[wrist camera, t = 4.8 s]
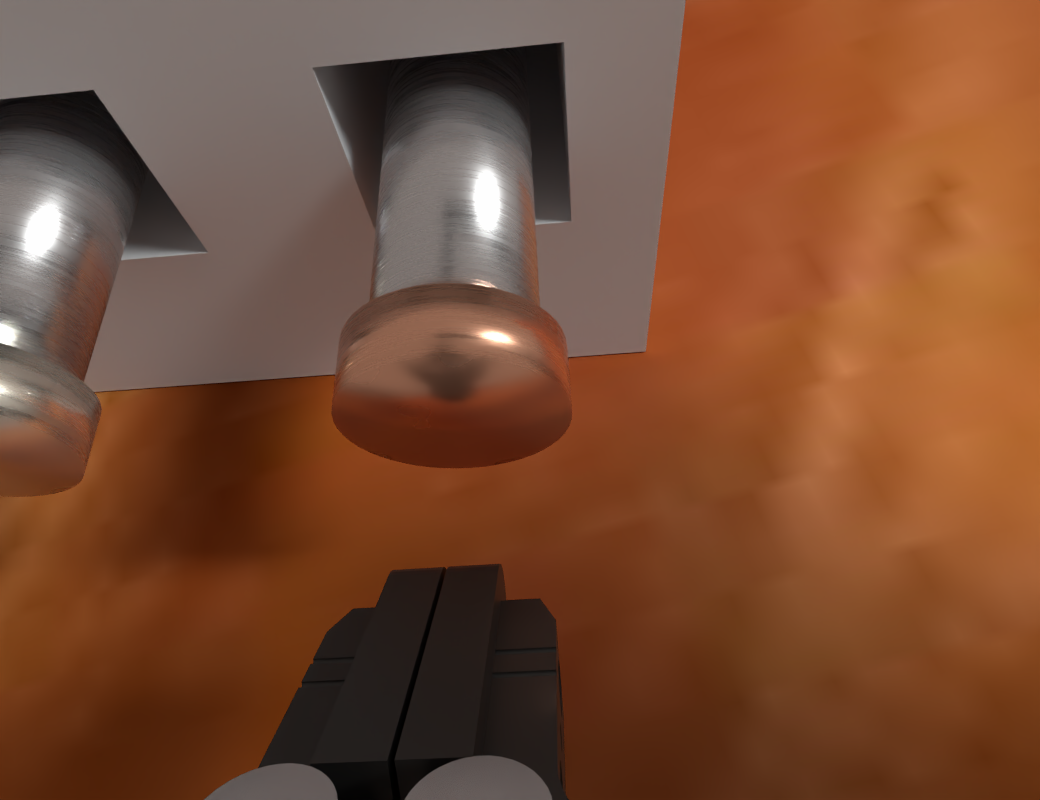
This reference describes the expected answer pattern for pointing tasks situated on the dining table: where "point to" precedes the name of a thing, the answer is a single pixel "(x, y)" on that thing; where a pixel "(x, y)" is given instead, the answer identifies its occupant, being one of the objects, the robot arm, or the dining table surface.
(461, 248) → the copper knob
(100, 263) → the ivory button
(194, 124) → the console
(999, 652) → the dining table surface
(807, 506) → the dining table surface
